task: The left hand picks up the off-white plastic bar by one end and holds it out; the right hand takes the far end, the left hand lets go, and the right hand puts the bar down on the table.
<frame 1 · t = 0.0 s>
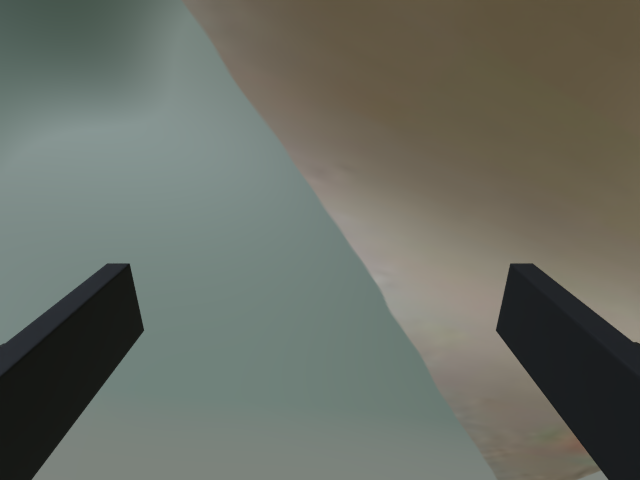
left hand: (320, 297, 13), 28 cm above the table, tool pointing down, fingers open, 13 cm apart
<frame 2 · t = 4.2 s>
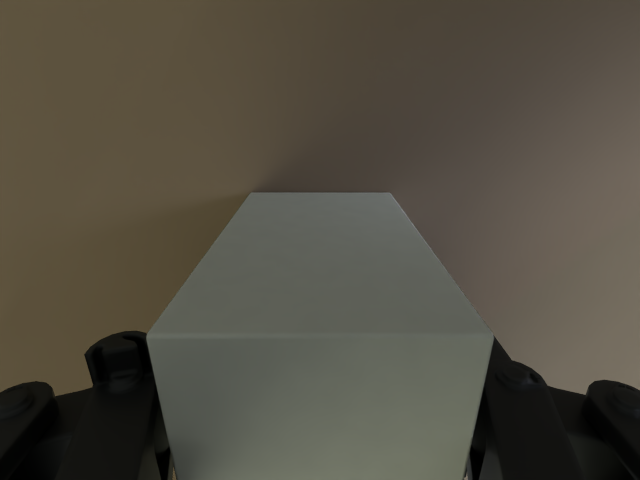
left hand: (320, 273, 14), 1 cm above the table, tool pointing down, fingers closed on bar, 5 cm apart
bar: (320, 440, 19), on the table, touching left hand
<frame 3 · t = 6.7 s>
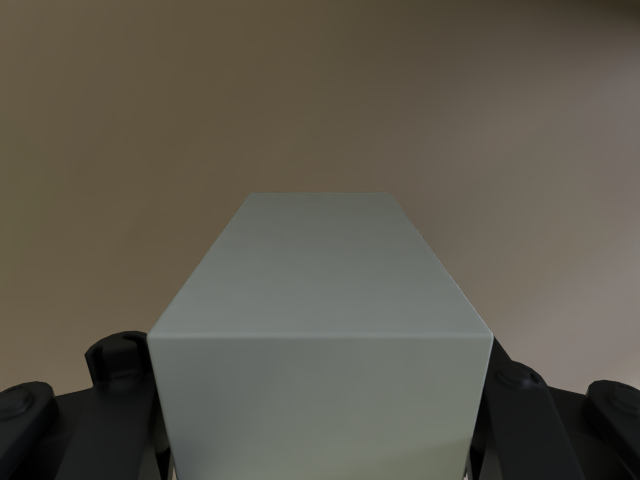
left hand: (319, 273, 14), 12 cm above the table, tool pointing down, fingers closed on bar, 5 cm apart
bar: (320, 440, 19), point 12 cm above the table, touching left hand
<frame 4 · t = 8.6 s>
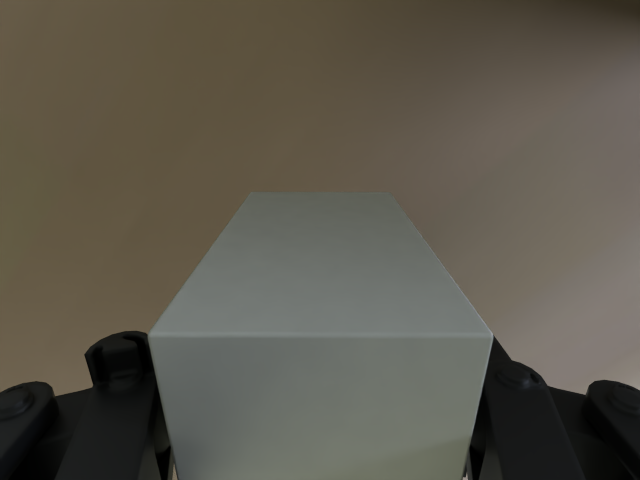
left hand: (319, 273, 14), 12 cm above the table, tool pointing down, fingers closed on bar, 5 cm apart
bar: (319, 439, 19), point 12 cm above the table, touching left hand, right hand
when the left hand's fingers open (12 cm above the table, at t = 9.6 s): bar stays where it is, held by the right hand.
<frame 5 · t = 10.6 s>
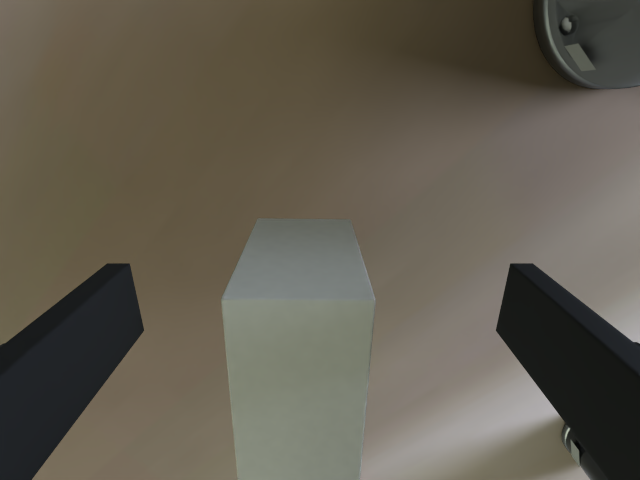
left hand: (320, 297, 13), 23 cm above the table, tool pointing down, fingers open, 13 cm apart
bar: (303, 394, 26), point 14 cm above the table, touching right hand
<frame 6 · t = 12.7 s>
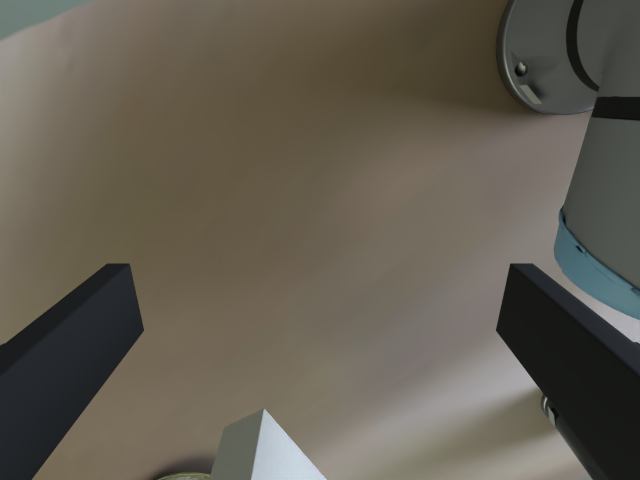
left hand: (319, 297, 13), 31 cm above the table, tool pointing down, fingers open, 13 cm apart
when the right hand's fingers open (6 cm above the table, at t = 14.3 s): bar drops 1 cm, on the table.
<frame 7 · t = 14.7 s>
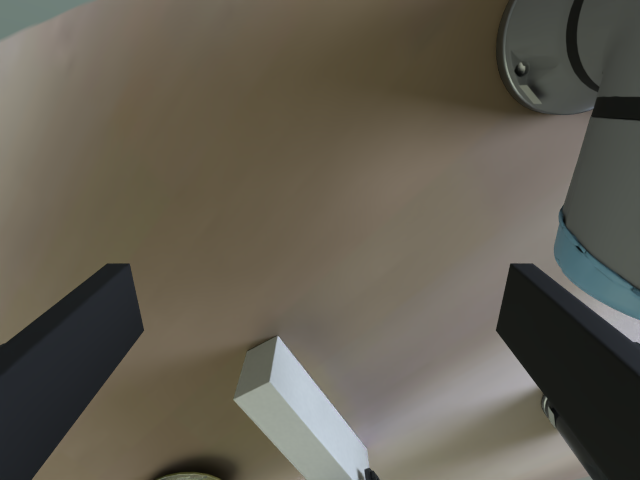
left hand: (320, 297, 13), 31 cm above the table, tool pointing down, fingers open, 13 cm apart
bar: (310, 403, 55), on the table
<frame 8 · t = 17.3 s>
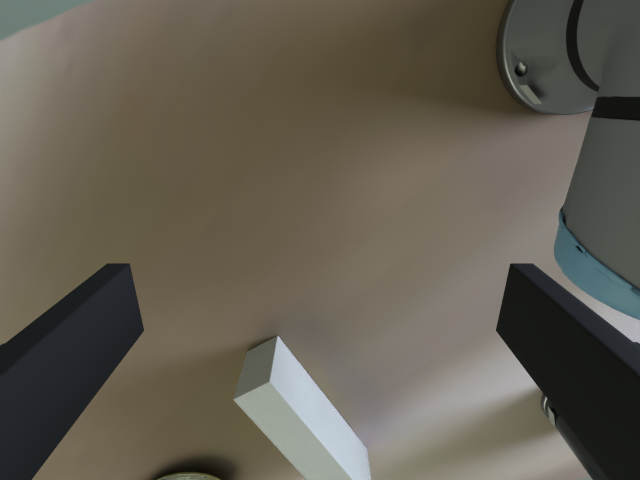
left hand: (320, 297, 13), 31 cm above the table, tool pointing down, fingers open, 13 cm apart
bar: (310, 403, 55), on the table
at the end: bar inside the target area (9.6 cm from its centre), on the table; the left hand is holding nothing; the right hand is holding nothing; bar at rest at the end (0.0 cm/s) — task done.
